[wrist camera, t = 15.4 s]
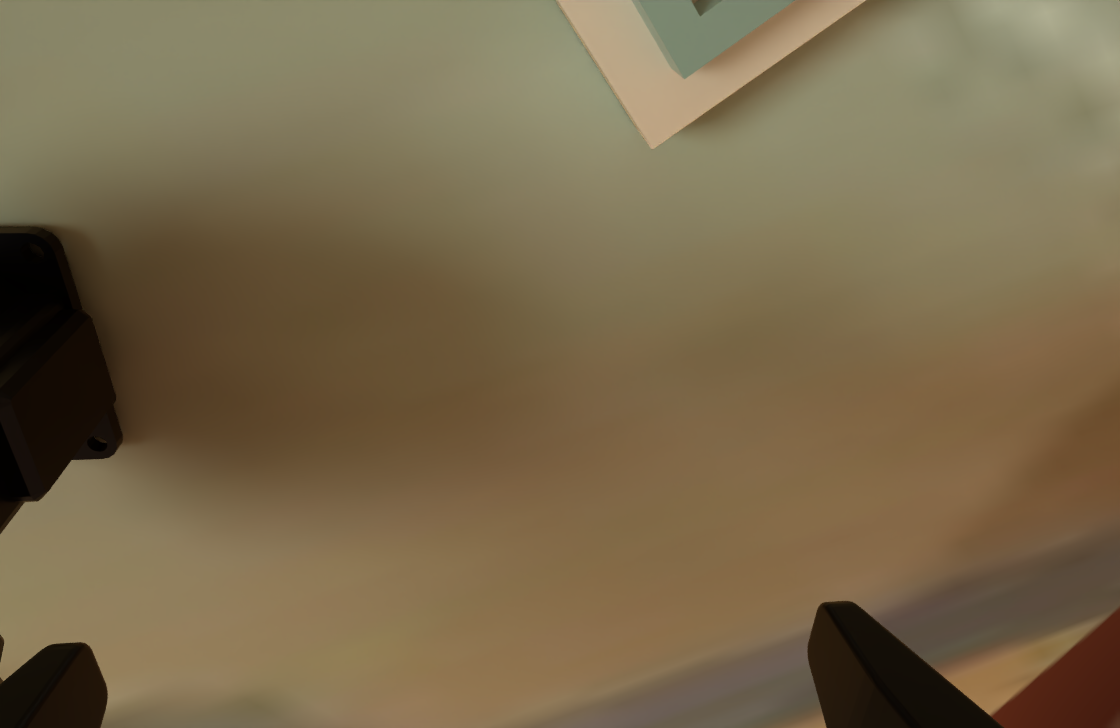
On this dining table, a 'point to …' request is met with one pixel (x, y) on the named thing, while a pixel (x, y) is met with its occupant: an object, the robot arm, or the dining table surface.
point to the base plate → (690, 50)
